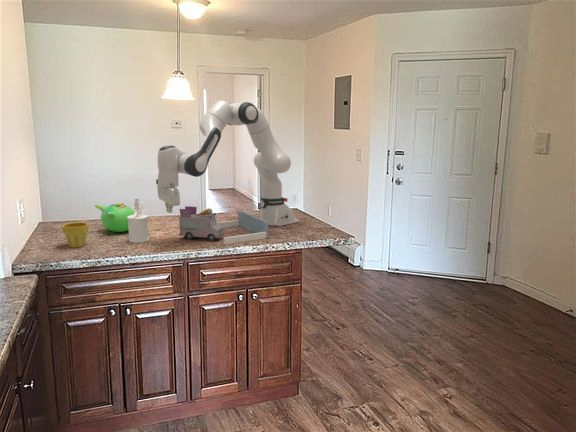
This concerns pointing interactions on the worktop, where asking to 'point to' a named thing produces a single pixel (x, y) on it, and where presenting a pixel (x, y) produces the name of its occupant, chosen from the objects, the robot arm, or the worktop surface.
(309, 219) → the worktop surface
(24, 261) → the worktop surface
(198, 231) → the toy vehicle
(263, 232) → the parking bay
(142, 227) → the white soap dispenser
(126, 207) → the green round vessel
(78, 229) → the plant pot
